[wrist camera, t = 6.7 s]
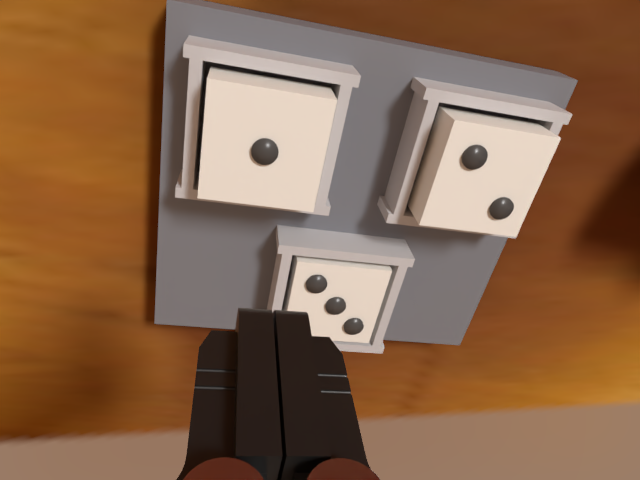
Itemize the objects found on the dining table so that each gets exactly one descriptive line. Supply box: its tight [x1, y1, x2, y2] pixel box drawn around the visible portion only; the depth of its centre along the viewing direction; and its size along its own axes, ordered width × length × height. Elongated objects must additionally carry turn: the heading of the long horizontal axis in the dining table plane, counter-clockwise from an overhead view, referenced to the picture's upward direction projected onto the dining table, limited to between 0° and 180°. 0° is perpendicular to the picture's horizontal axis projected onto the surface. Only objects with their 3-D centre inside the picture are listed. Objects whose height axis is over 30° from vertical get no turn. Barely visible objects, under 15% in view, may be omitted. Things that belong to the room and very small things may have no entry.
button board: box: [154, 0, 578, 354], centre depth 26 cm, size 19×17×4 cm
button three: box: [282, 255, 392, 343], centre depth 27 cm, size 5×5×2 cm
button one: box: [197, 67, 337, 212], centre depth 21 cm, size 5×5×2 cm
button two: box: [408, 106, 561, 237], centre depth 23 cm, size 5×5×2 cm
